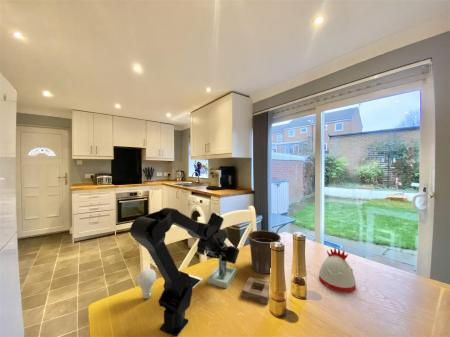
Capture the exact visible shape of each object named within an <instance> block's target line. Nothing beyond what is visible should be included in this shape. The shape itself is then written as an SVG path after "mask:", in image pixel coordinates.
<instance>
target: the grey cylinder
mask: <svg viewBox="0 0 450 337" xmlns="http://www.w3.org/2000/svg"><path fill="white" fill-rule="evenodd" d="M224 247H225V246H224ZM224 247H223V248H224ZM221 259H222V256H220V255H219V259H218V266H219V276H221V277H224V276H226V274H227V267H228V266H227V263H228V262H225V261H221Z"/></svg>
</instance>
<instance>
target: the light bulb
mask: <svg viewBox="0 0 450 337" xmlns="http://www.w3.org/2000/svg"><path fill="white" fill-rule="evenodd" d="M156 273H157V272H155V270H153V269H152V268H145V269H143V270H141V271H140V272H139V274H138V276H137V279H136V280H137V284H138V286H139V287H140V288H141V293H142V298H143V299H149V298H151V296H152V290H153V289H152V288H153V286H154V284H155V282H156V280H157V274H156Z"/></svg>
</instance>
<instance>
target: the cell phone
mask: <svg viewBox="0 0 450 337" xmlns="http://www.w3.org/2000/svg"><path fill="white" fill-rule="evenodd" d="M188 275H189V277H190V280H191V281H192V283H191V284H192V290H194V289H195V288H196V286H198V285H199V284H200V283H201V282H202V281H204V280H203V279H204V278H202V277H199V276H195V275H192V274H189V273H188Z"/></svg>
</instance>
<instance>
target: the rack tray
mask: <svg viewBox="0 0 450 337" xmlns="http://www.w3.org/2000/svg"><path fill="white" fill-rule="evenodd" d="M237 273H238V272H237V268H235V267H234V268H233V267H230V266H227V274H226V276H224V277H221V276H219V265H218V266H217V267H216V268H214V270H212V272H211V273H210V275H208V276H207V280H206V281H207V282H206V283H207V284H210V285H213V286H217V287H219V288H224V289H227V288H228V287H229V286H230V284H231V283H232V282H233V280H234V278H235V277H236V276H237V275H238V274H237Z"/></svg>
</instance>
